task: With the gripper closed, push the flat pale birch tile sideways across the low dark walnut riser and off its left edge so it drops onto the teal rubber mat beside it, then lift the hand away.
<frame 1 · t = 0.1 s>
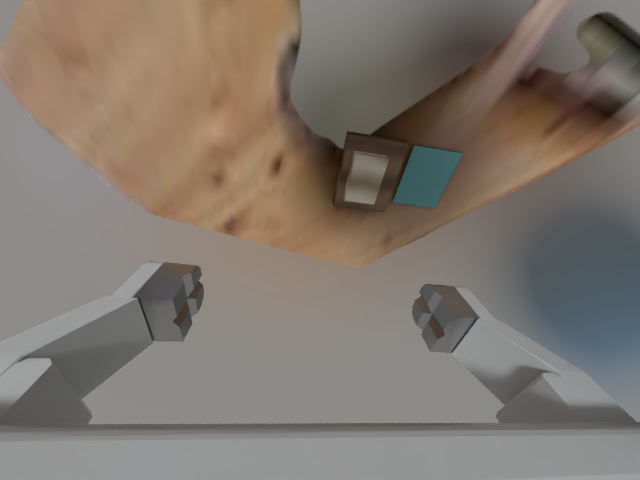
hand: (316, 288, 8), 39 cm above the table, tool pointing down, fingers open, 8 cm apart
teal mat: (424, 178, 47), on the table
birch tile: (363, 177, 43), point 2 cm above the table, touching walnut riser
walnut riser: (365, 173, 46), on the table
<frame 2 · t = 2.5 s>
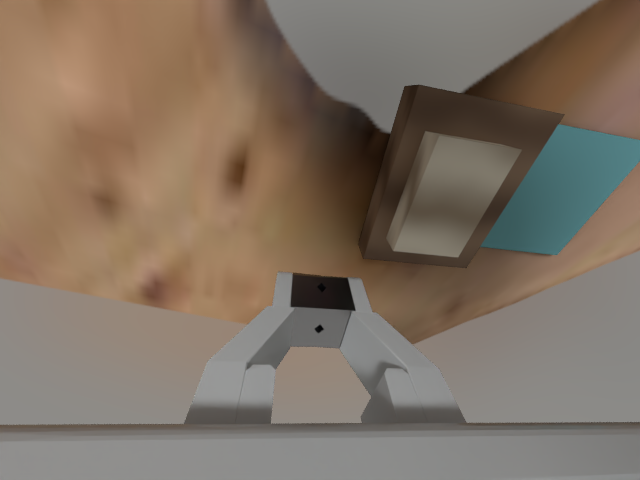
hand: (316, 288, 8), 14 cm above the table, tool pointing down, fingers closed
teal mat: (552, 199, 22), on the table
birch tile: (437, 196, 19), point 2 cm above the table, touching walnut riser
walnut riser: (433, 187, 21), on the table
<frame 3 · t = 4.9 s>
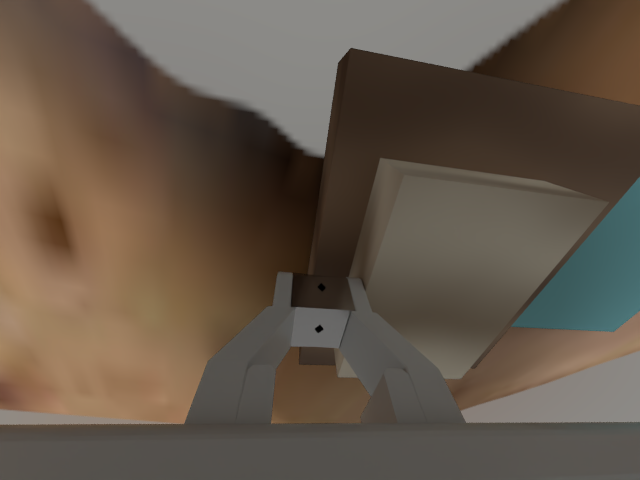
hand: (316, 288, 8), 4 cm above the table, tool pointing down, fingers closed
teal mat: (616, 256, 13), on the table
birch tile: (417, 274, 10), point 2 cm above the table, touching gripper, walnut riser
walnut riser: (415, 245, 12), on the table
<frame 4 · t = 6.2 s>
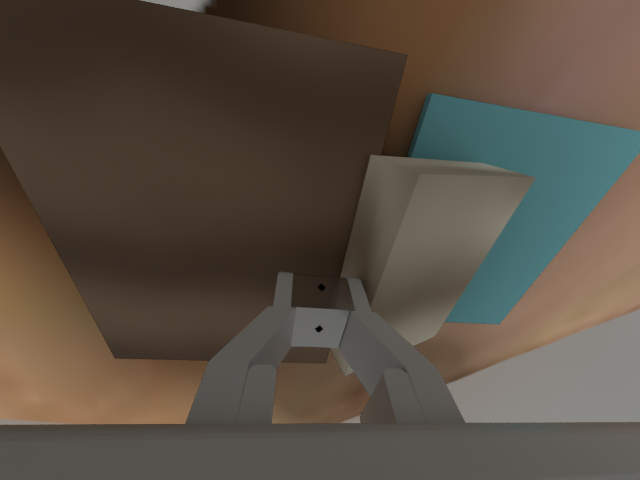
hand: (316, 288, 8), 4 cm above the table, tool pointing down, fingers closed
teal mat: (471, 240, 12), on the table
birch tile: (396, 258, 11), point 2 cm above the table, tilted 22°, touching gripper
walnut riser: (231, 226, 11), on the table
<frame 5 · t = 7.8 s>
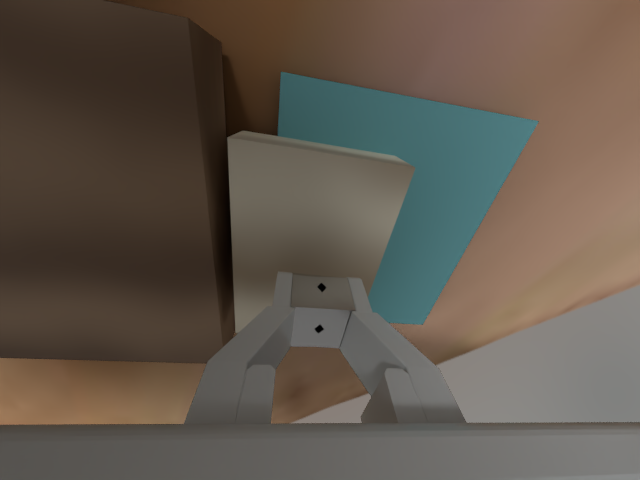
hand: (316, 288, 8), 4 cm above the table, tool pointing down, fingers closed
teal mat: (372, 235, 12), on the table
birch tile: (307, 241, 11), resting on teal mat
walnut riser: (104, 216, 10), on the table
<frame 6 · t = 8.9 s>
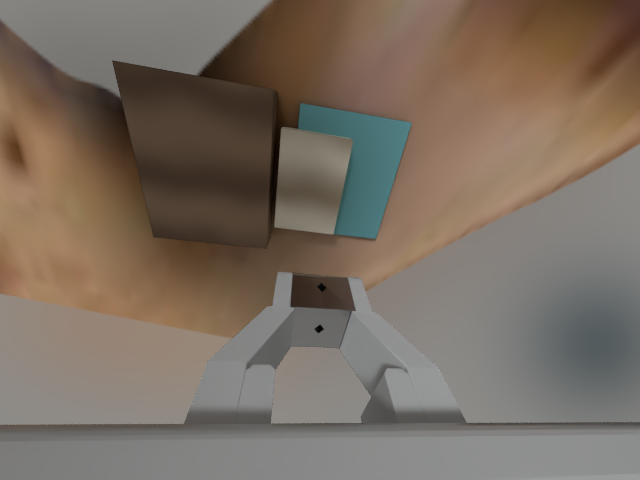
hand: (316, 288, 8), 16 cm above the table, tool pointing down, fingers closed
teal mat: (343, 180, 23), on the table
birch tile: (310, 181, 22), resting on teal mat
walnut riser: (215, 167, 22), on the table
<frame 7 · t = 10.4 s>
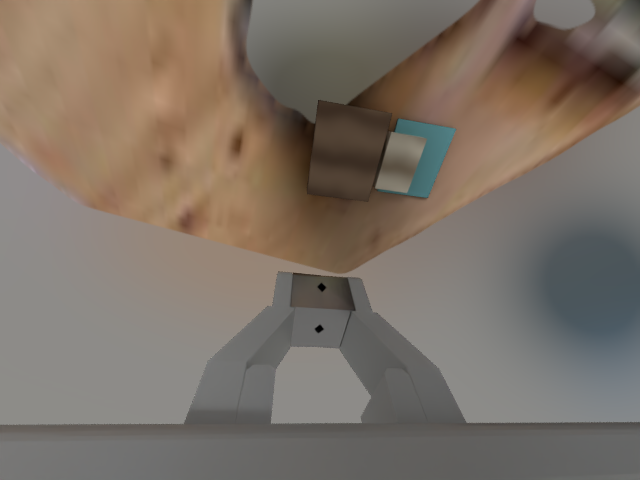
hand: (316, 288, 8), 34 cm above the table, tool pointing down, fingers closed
teal mat: (413, 161, 40), on the table
birch tile: (395, 162, 39), resting on teal mat
walnut riser: (344, 153, 39), on the table
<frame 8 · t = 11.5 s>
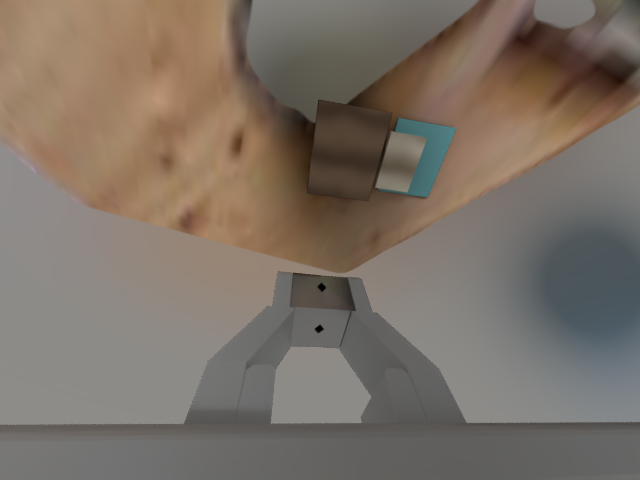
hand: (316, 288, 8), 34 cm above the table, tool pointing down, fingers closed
teal mat: (413, 160, 40), on the table
birch tile: (395, 161, 39), resting on teal mat
walnut riser: (344, 153, 39), on the table
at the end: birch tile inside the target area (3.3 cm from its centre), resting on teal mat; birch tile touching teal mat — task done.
